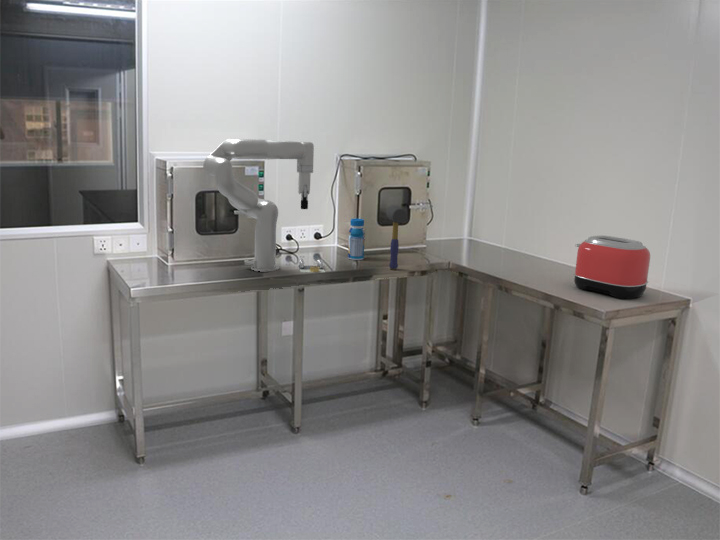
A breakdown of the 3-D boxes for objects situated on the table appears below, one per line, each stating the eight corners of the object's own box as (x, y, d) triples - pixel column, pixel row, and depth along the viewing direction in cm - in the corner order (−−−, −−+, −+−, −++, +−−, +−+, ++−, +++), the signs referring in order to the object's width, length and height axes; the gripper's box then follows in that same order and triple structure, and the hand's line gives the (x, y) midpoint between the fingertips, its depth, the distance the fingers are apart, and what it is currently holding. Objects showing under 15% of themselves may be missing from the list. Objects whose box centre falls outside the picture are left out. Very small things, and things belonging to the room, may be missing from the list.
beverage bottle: (354, 261, 325) (356, 221, 320) (344, 258, 331) (345, 218, 326) (367, 259, 330) (369, 219, 326) (356, 256, 336) (358, 217, 332)
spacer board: (300, 273, 294) (300, 272, 294) (298, 266, 307) (298, 265, 307) (324, 273, 296) (324, 272, 296) (321, 266, 309) (321, 265, 309)
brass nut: (310, 272, 295) (310, 268, 294) (308, 270, 299) (308, 266, 298) (320, 271, 296) (320, 267, 296) (318, 269, 300) (318, 266, 300)
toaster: (654, 295, 280) (662, 242, 275) (627, 303, 265) (635, 247, 260) (586, 280, 304) (592, 231, 298) (558, 286, 289) (564, 235, 284)
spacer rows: (300, 269, 300) (300, 262, 299) (298, 265, 307) (299, 259, 307) (322, 269, 302) (323, 262, 301) (320, 265, 309) (321, 259, 308)
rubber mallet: (382, 266, 315) (385, 204, 308) (397, 266, 317) (400, 204, 310) (389, 272, 303) (392, 207, 297) (404, 272, 305) (408, 208, 298)
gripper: (296, 167, 308) (295, 206, 312) (297, 170, 294) (296, 211, 298) (312, 168, 309) (311, 207, 313) (314, 170, 295) (313, 211, 299)
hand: (304, 208), depth 306 cm, fingers closed
